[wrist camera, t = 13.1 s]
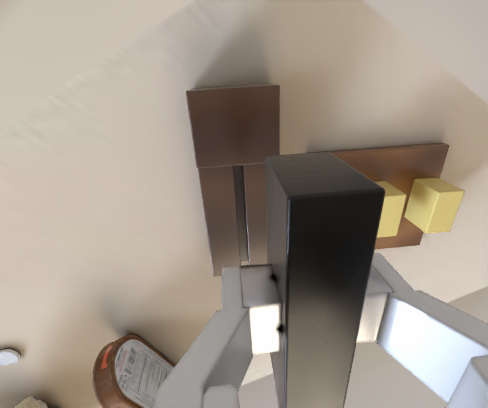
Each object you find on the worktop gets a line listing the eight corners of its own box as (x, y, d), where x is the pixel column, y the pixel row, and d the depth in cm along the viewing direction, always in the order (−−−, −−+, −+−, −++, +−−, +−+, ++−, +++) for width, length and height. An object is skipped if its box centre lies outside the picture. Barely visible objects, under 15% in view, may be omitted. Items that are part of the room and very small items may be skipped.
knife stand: (191, 88, 22) (185, 90, 19) (271, 83, 23) (279, 84, 19) (214, 259, 30) (213, 281, 27) (272, 253, 31) (278, 275, 27)
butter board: (306, 153, 26) (309, 155, 25) (442, 142, 26) (449, 145, 25) (301, 250, 31) (303, 256, 30) (414, 240, 32) (419, 245, 31)
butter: (317, 186, 26) (330, 201, 23) (385, 180, 26) (407, 194, 23) (314, 224, 28) (326, 242, 25) (377, 218, 28) (396, 236, 25)
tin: (107, 329, 34) (75, 400, 27) (126, 319, 34) (99, 389, 26) (176, 382, 41) (165, 452, 33) (193, 375, 40) (186, 444, 32)
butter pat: (413, 178, 27) (439, 192, 23) (436, 177, 27) (465, 190, 24) (403, 216, 29) (425, 233, 25) (425, 215, 29) (449, 231, 26)
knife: (252, 135, 10) (287, 197, 4) (299, 131, 10) (388, 188, 5) (263, 391, 17) (282, 531, 12) (291, 388, 17) (321, 525, 12)
